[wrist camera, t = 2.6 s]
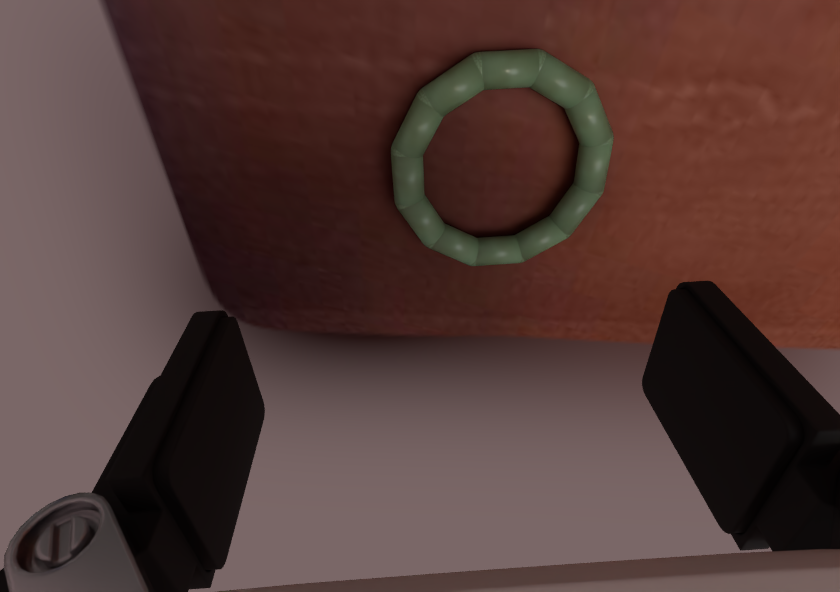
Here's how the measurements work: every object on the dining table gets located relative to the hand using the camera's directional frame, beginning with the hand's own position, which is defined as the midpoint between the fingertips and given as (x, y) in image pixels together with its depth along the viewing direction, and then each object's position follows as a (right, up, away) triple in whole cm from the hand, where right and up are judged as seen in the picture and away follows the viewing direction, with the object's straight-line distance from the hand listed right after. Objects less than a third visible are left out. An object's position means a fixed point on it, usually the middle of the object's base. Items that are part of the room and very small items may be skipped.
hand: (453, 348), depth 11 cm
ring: (+2, +6, +8) cm, 10 cm away
